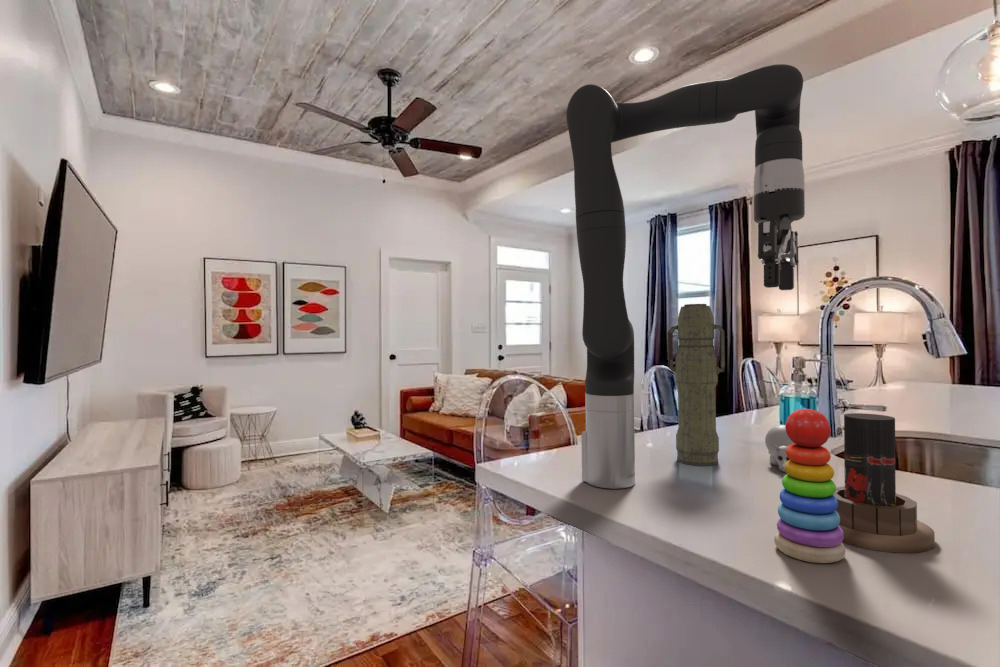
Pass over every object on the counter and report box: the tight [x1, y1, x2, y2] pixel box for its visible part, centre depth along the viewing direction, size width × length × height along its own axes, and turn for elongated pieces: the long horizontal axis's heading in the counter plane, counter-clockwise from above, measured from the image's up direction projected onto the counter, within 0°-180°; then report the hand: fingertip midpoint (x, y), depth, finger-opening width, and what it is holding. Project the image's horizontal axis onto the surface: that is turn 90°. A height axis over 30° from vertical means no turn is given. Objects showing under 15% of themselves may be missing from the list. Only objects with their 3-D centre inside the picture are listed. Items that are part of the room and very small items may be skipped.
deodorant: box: [843, 412, 897, 507], centre depth 74 cm, size 6×6×15 cm
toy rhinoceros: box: [764, 424, 795, 474], centre depth 110 cm, size 7×12×8 cm, turn 151°
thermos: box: [667, 303, 726, 467], centre depth 116 cm, size 9×12×35 cm
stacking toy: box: [774, 408, 847, 564], centre depth 68 cm, size 8×8×19 cm
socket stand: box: [833, 486, 936, 554], centre depth 74 cm, size 14×14×5 cm
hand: (779, 288), depth 87 cm, fingers open, 8 cm apart
